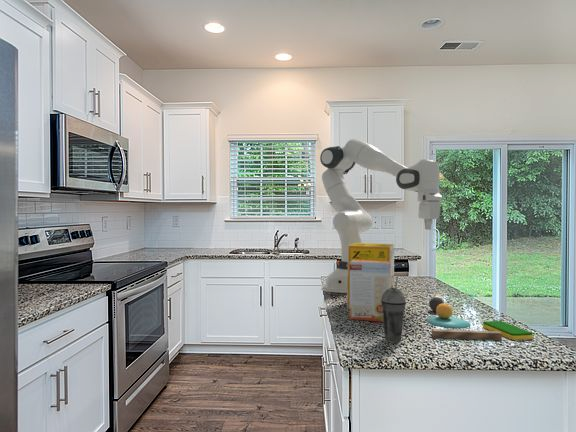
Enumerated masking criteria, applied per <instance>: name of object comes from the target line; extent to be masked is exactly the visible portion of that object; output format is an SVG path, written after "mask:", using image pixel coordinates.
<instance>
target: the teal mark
mask: <svg viewBox="0 0 576 432" xmlns="http://www.w3.org/2000/svg"><path fill="white" fill-rule="evenodd" d="M426 321H427V322H428V323H429V324H431V325H434V326H436V327H441V328H446V329H447V328H448V329H465V328H469V327H471V322H469V321H467V320H465V319H461V318H458V317H452V316H451V317H450V318H448V319H442V318H440V317H439V316H431V317H428V318H427V319H426Z"/></svg>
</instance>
